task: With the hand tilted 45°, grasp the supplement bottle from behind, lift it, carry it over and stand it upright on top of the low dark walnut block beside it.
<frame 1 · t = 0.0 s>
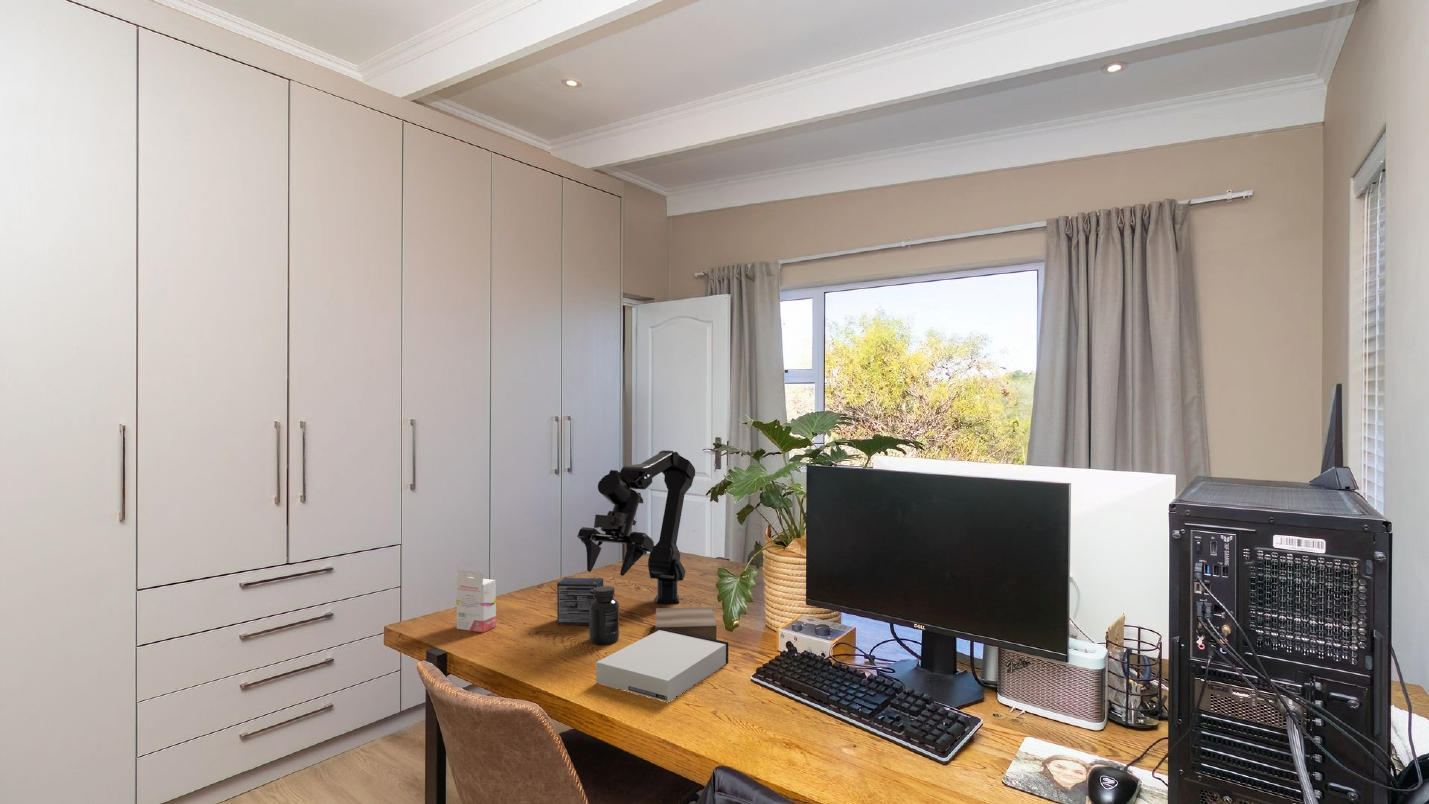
hand: (605, 573, 160), 15 cm above the table, tool tilted 35°, fingers open, 9 cm apart
ink cartridge box: (476, 628, 166), on the table
disc drive: (664, 676, 139), on the table
walnut block: (685, 633, 162), on the table
small box: (580, 622, 171), on the table
supplement bottle: (604, 641, 158), on the table
glasses: (590, 607, 185), on the table
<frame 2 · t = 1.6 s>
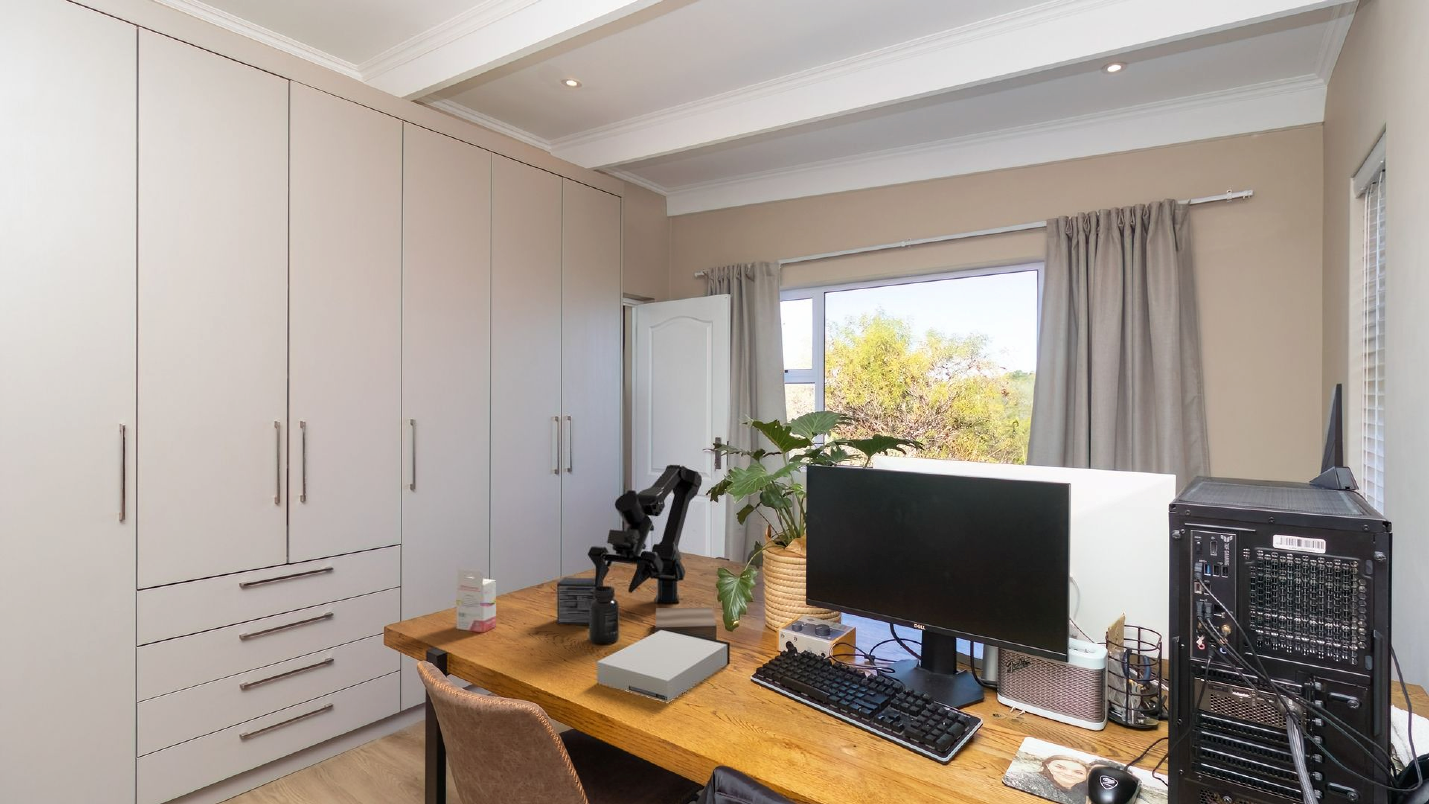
hand: (612, 589, 161), 11 cm above the table, tool tilted 45°, fingers open, 9 cm apart
nothing on the table moved.
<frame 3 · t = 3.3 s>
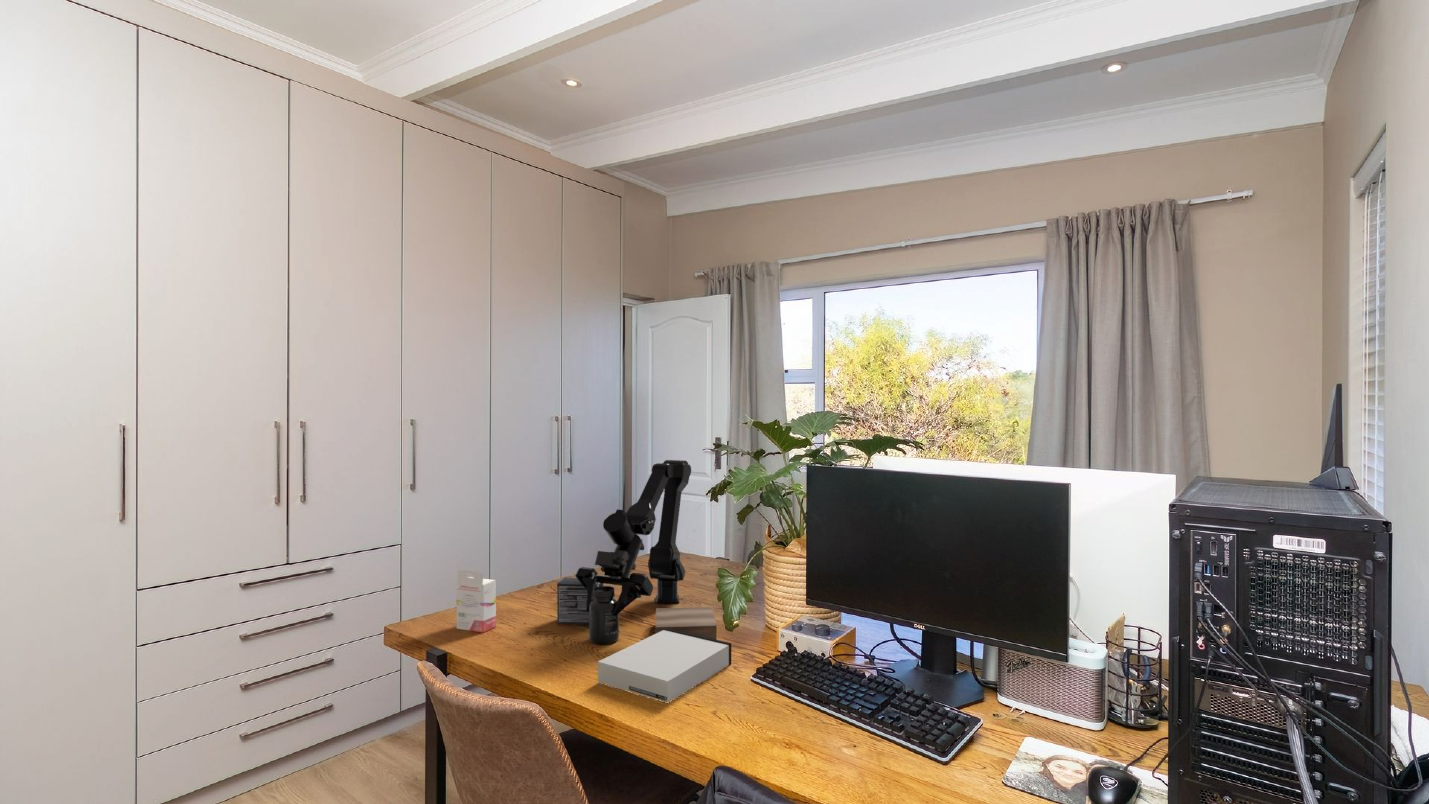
hand: (600, 613, 157), 7 cm above the table, tool tilted 45°, fingers closed on supplement bottle, 7 cm apart
supplement bottle: (604, 640, 158), on the table, touching gripper
everything else where it was.
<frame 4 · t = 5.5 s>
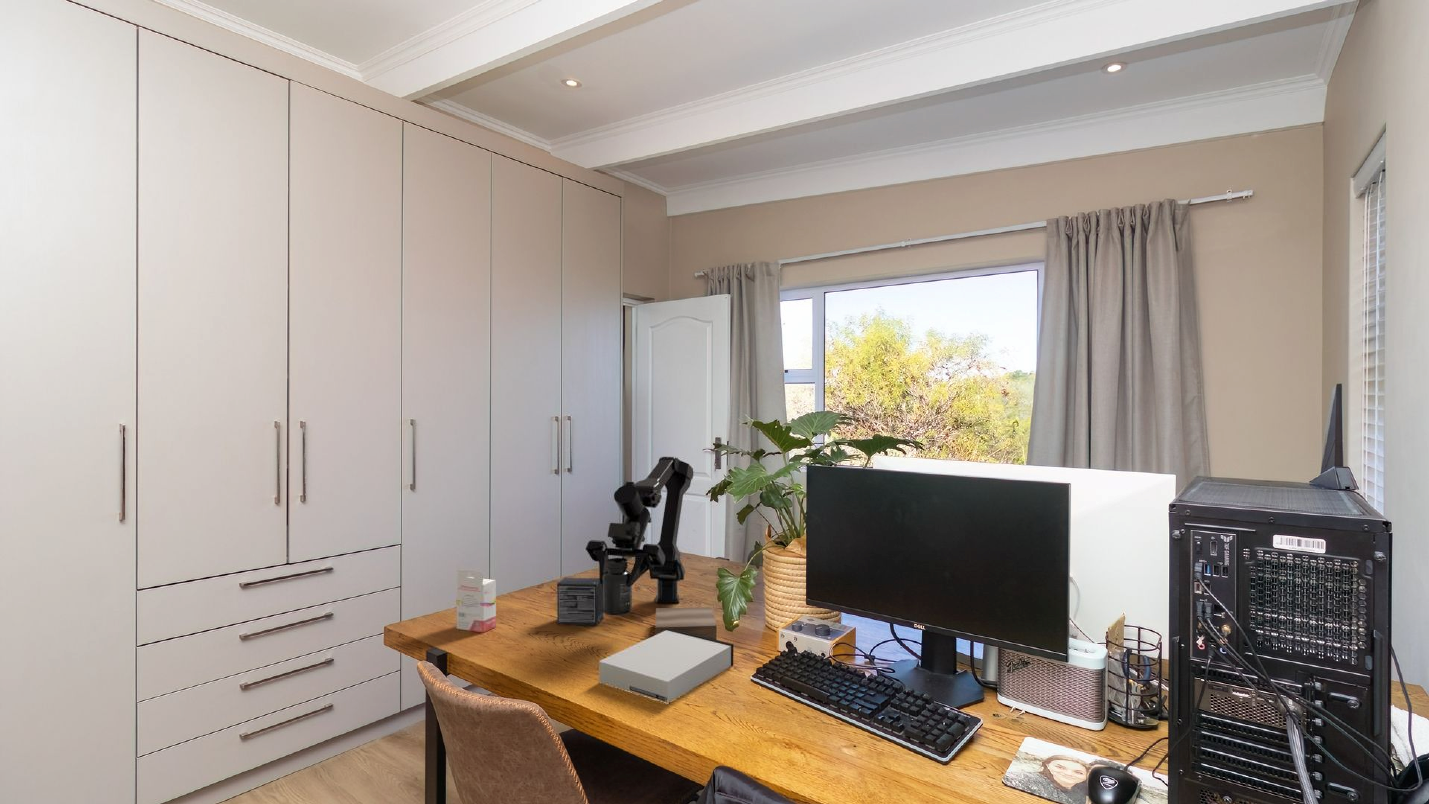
hand: (614, 584, 157), 13 cm above the table, tool tilted 45°, fingers closed on supplement bottle, 7 cm apart
supplement bottle: (617, 612, 158), point 6 cm above the table, touching gripper
everything else where it was.
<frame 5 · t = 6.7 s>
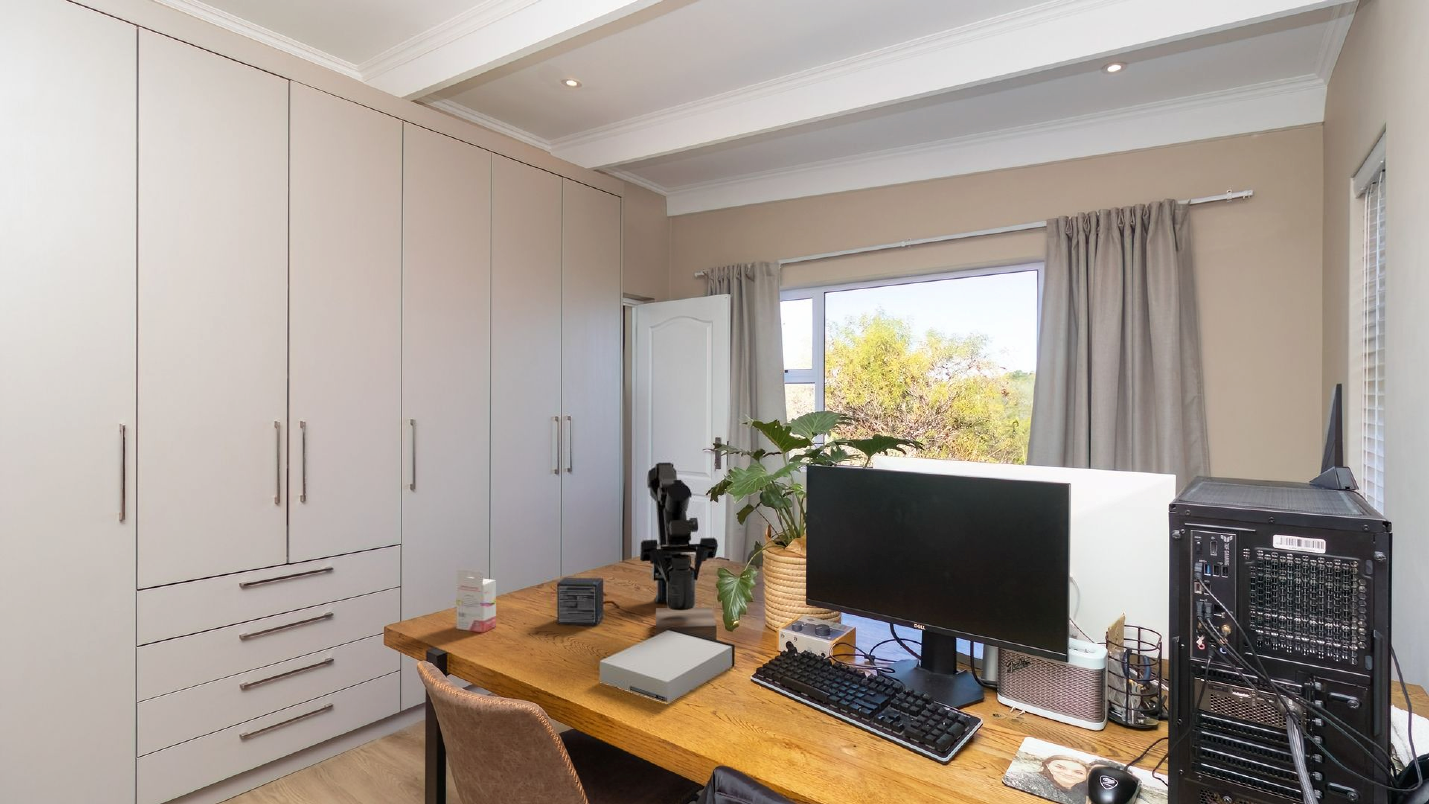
hand: (681, 580, 161), 13 cm above the table, tool tilted 45°, fingers closed on supplement bottle, 7 cm apart
supplement bottle: (681, 607, 162), point 6 cm above the table, touching gripper
when the fingers open (12 cm above the table, at t = 7.8 s): supplement bottle stays where it is, resting on walnut block.
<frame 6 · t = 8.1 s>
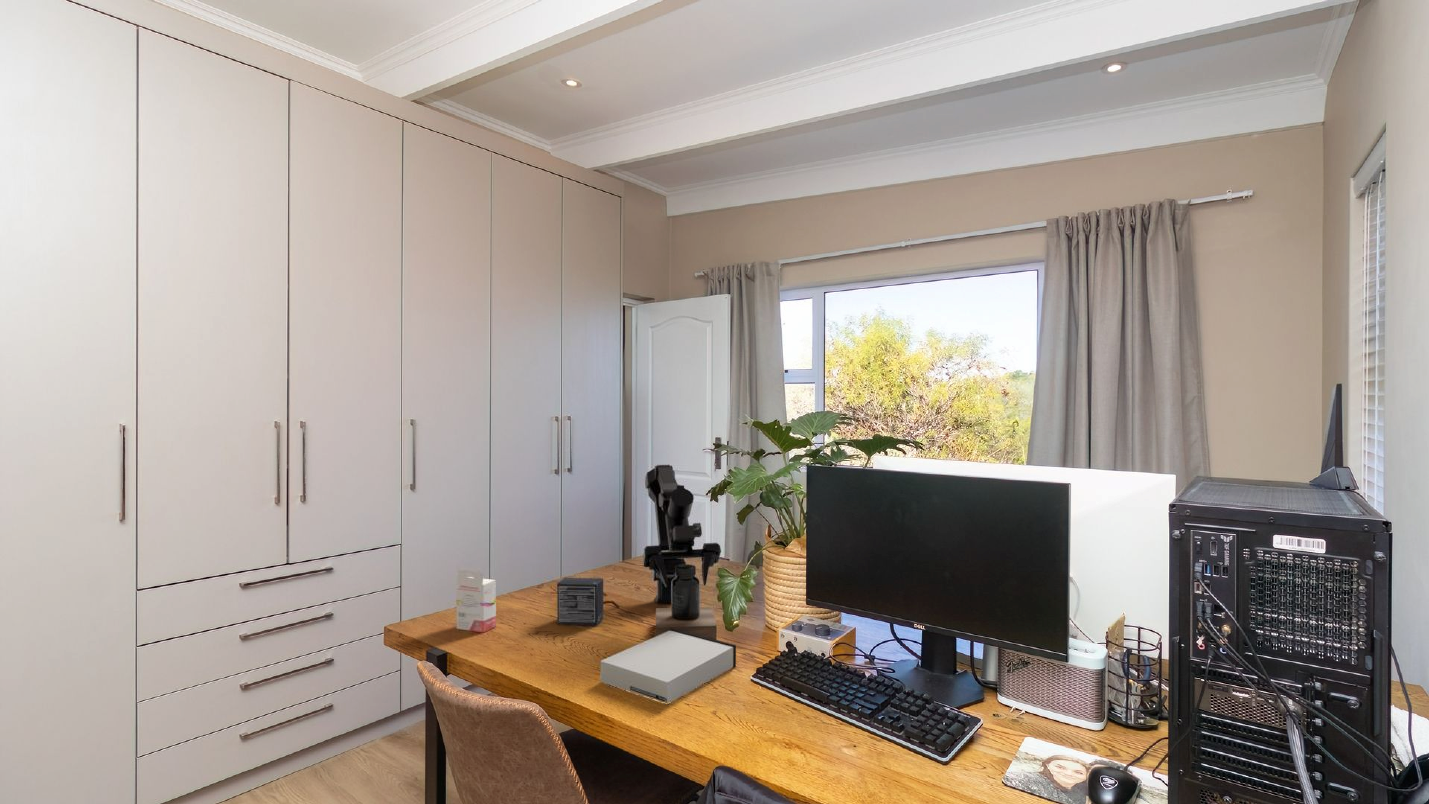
hand: (686, 585, 161), 12 cm above the table, tool tilted 45°, fingers open, 9 cm apart
supplement bottle: (685, 617, 163), point 4 cm above the table, touching walnut block
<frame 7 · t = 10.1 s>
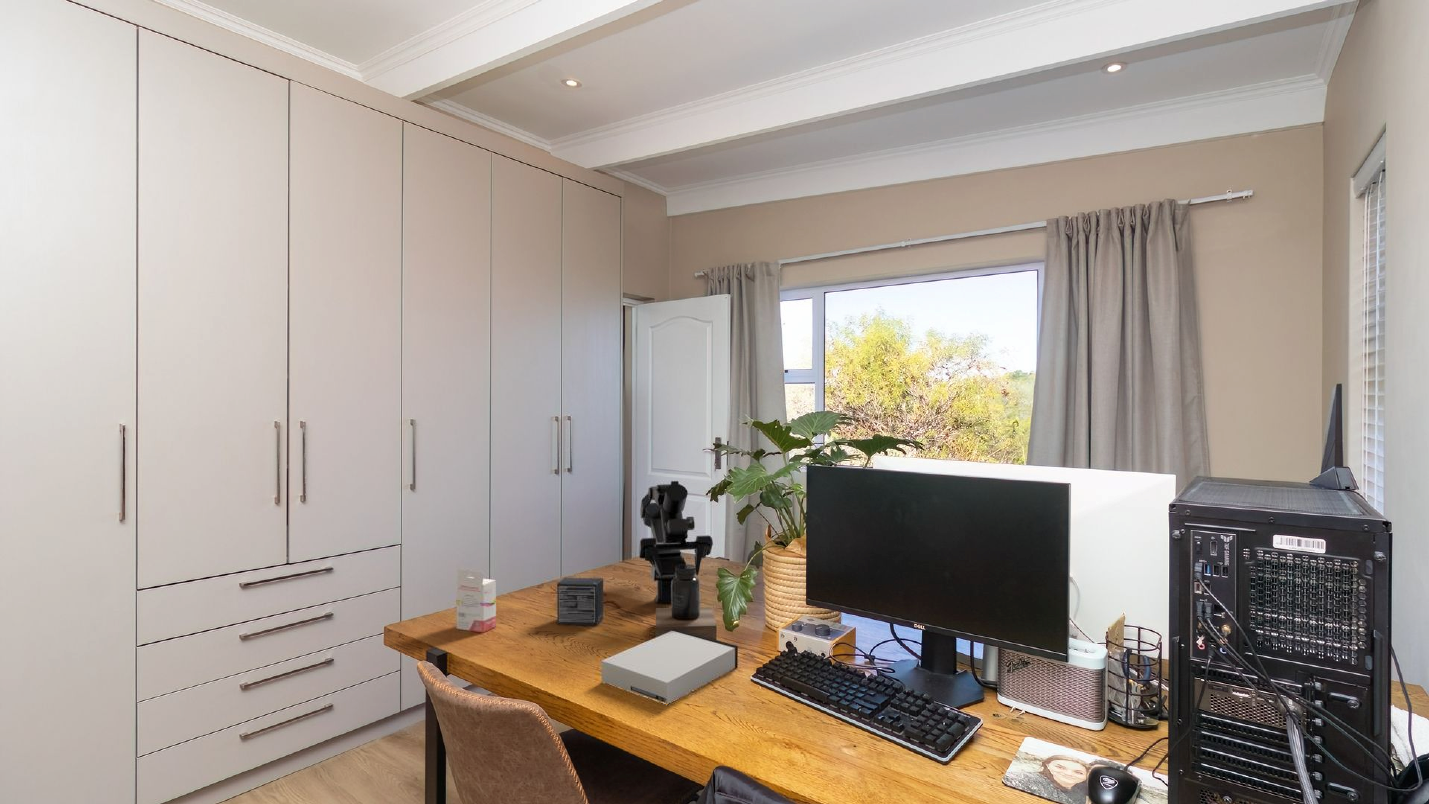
hand: (679, 575, 170), 12 cm above the table, tool tilted 45°, fingers open, 9 cm apart
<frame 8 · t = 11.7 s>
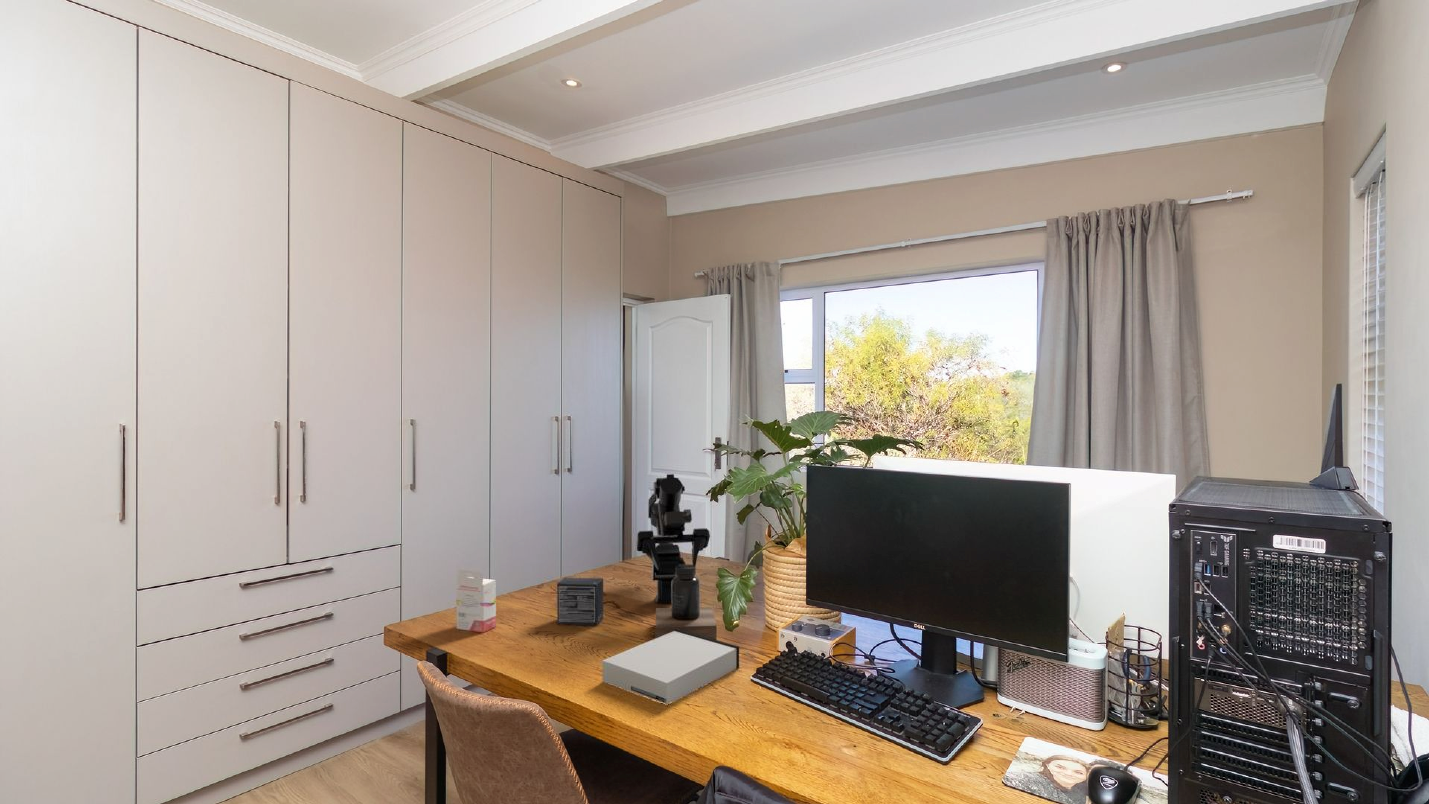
hand: (676, 568, 171), 14 cm above the table, tool tilted 45°, fingers open, 9 cm apart
at the end: supplement bottle inside the target area on the walnut block (0.1 cm from its centre), point 3.8 cm above the walnut block's base; supplement bottle tilted 0°; the gripper is holding nothing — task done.
